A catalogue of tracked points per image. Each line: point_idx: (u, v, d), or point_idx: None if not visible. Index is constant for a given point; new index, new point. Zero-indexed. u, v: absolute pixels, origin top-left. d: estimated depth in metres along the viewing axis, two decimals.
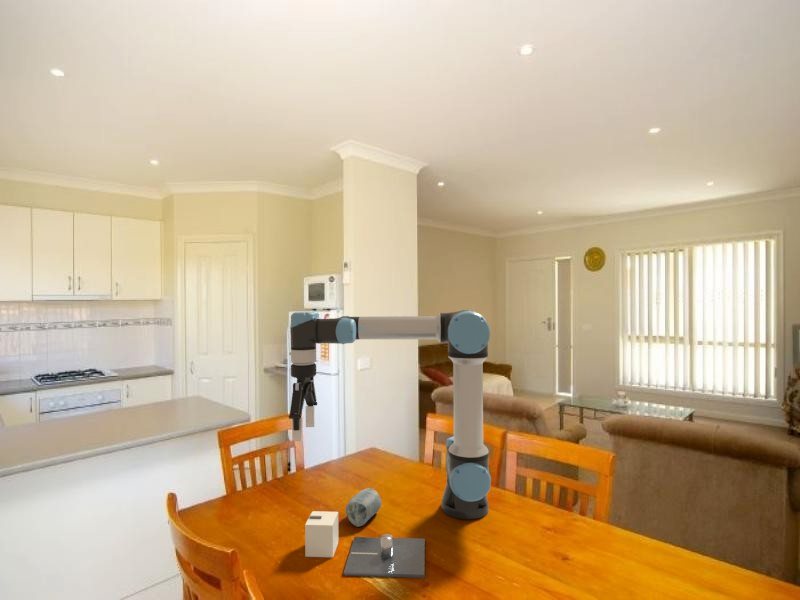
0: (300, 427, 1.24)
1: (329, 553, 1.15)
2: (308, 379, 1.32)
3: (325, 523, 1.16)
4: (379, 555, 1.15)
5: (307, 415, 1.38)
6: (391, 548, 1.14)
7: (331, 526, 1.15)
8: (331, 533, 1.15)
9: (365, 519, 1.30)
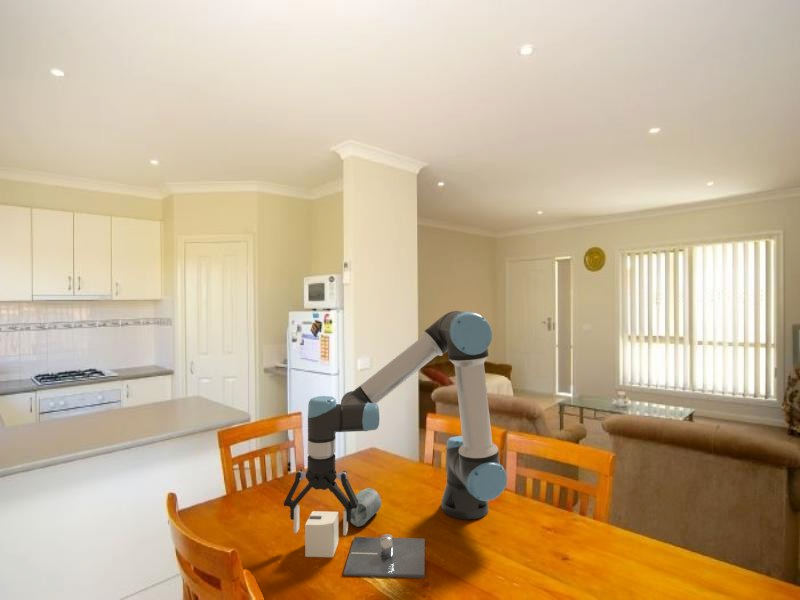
0: None
1: (329, 553, 1.15)
2: (325, 474, 1.18)
3: (325, 523, 1.16)
4: (379, 555, 1.15)
5: None
6: (391, 548, 1.14)
7: (331, 526, 1.15)
8: (331, 533, 1.15)
9: (365, 519, 1.30)
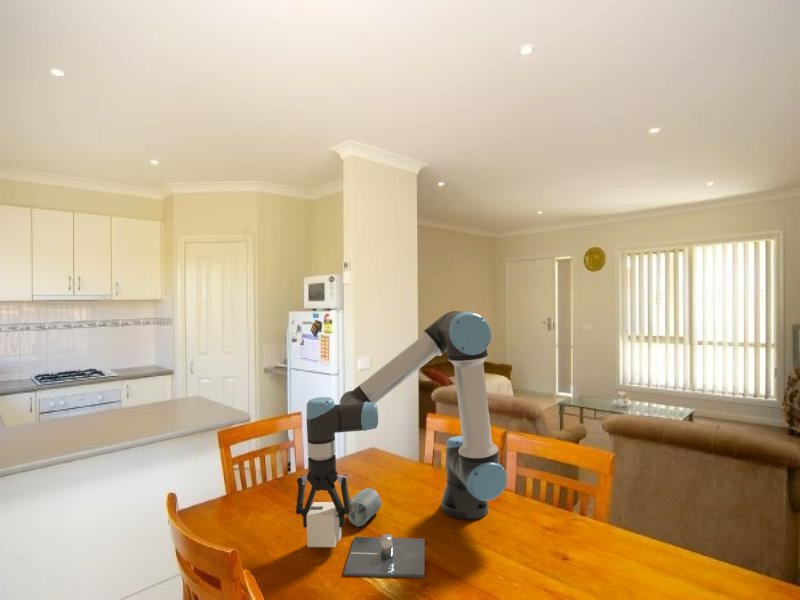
0: None
1: (331, 543, 1.15)
2: (327, 473, 1.18)
3: (327, 513, 1.16)
4: (379, 555, 1.15)
5: None
6: (391, 548, 1.14)
7: (332, 516, 1.15)
8: (333, 523, 1.15)
9: (365, 519, 1.30)
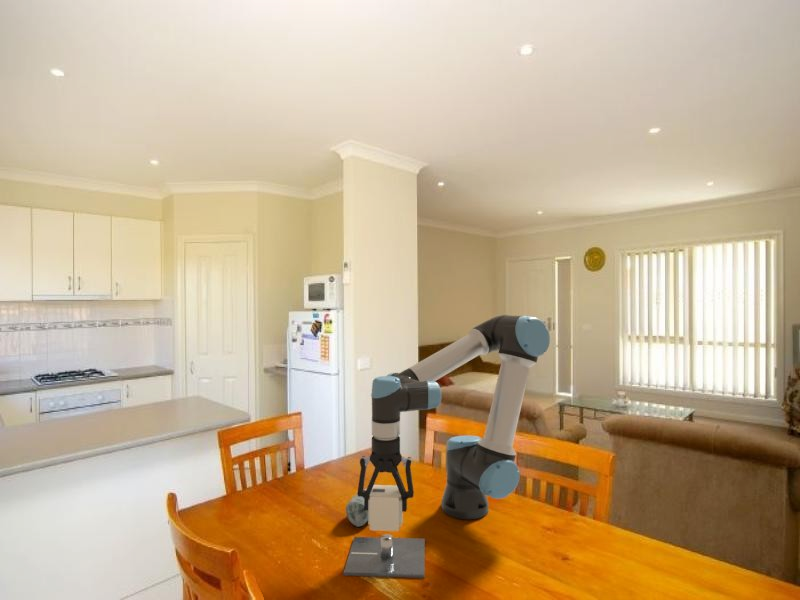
0: None
1: (395, 527, 1.11)
2: (391, 455, 1.14)
3: (391, 496, 1.12)
4: (379, 555, 1.15)
5: None
6: (391, 548, 1.14)
7: (397, 498, 1.11)
8: (397, 506, 1.11)
9: (365, 519, 1.30)
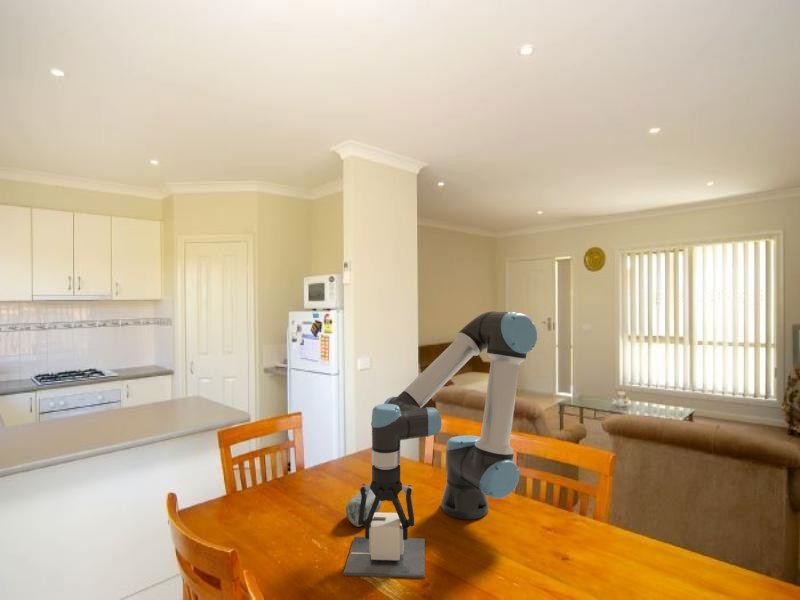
0: (369, 537, 1.14)
1: (396, 556, 1.11)
2: (391, 483, 1.14)
3: (392, 525, 1.12)
4: None
5: None
6: None
7: (398, 528, 1.11)
8: (398, 535, 1.11)
9: None
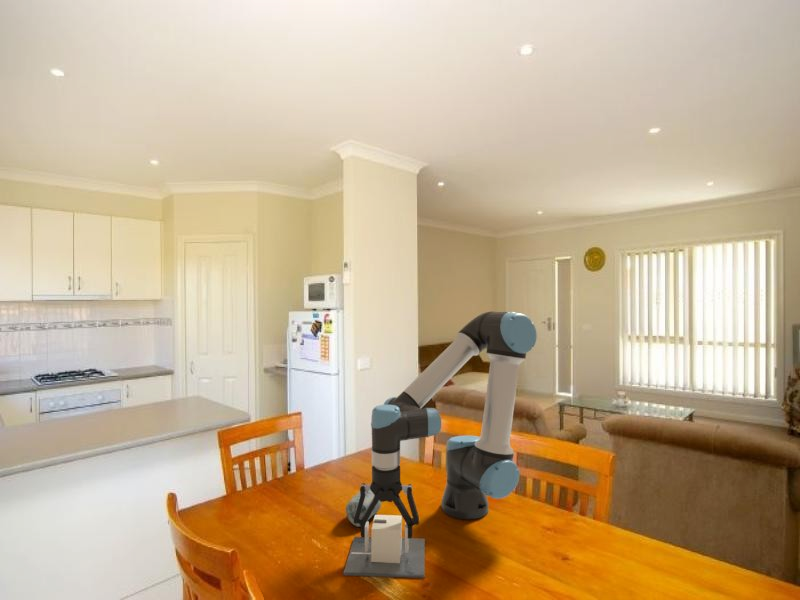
0: (365, 535, 1.14)
1: (396, 559, 1.11)
2: (391, 485, 1.14)
3: (392, 528, 1.12)
4: None
5: None
6: None
7: (399, 531, 1.11)
8: (398, 538, 1.11)
9: None
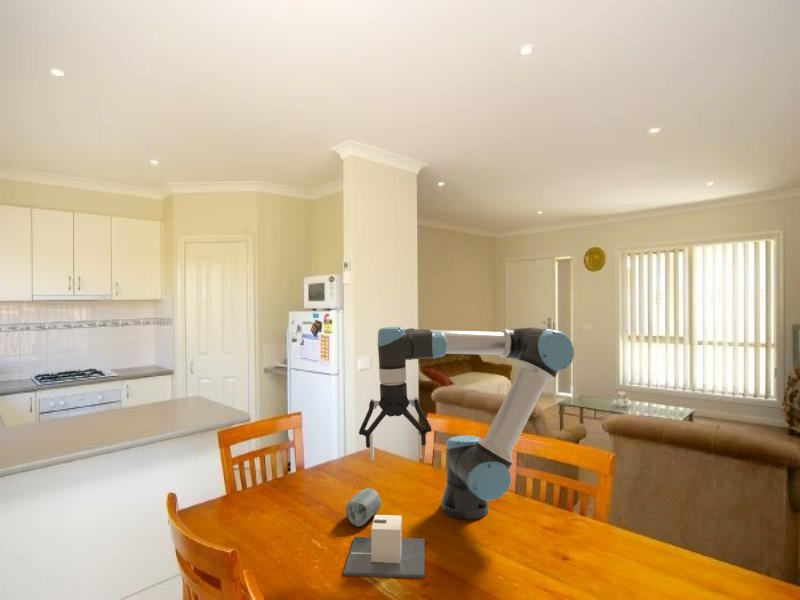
0: (370, 446, 1.21)
1: (396, 559, 1.11)
2: (398, 401, 1.21)
3: (392, 528, 1.12)
4: None
5: None
6: None
7: (399, 531, 1.11)
8: (398, 538, 1.11)
9: (365, 519, 1.30)
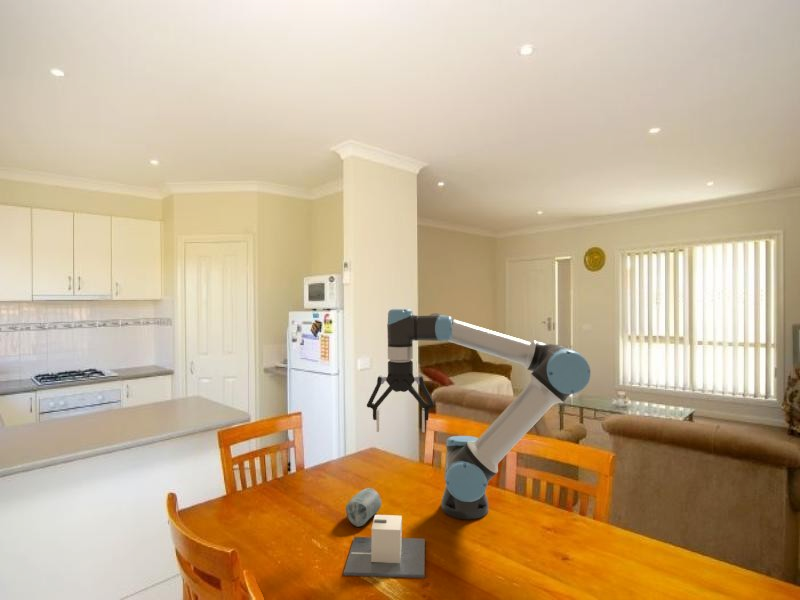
0: None
1: (396, 559, 1.11)
2: (404, 378, 1.30)
3: (392, 528, 1.12)
4: None
5: None
6: None
7: (399, 531, 1.11)
8: (398, 538, 1.11)
9: (365, 519, 1.30)
